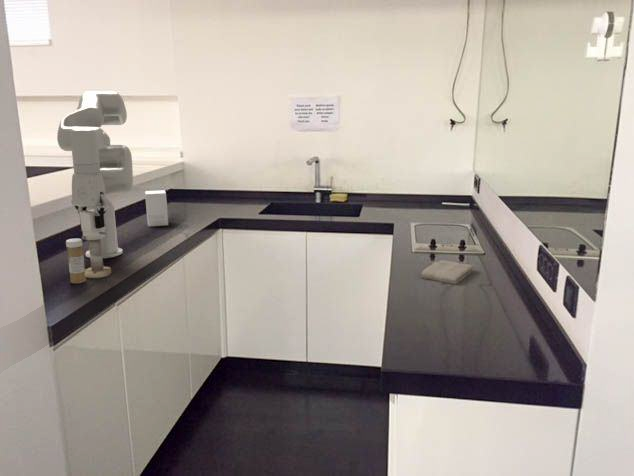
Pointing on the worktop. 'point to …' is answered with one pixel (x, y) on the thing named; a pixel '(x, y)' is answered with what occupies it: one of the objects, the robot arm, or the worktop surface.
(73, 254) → the sprinkles bottle
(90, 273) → the post base
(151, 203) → the supplement box
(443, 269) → the washcloth
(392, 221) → the worktop surface
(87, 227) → the coupling cap
